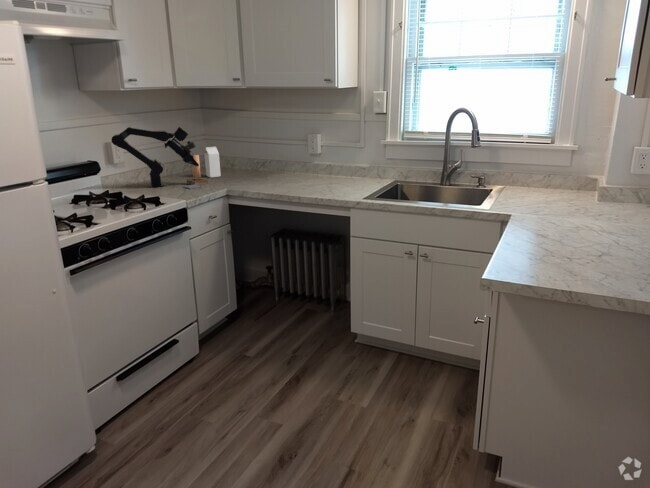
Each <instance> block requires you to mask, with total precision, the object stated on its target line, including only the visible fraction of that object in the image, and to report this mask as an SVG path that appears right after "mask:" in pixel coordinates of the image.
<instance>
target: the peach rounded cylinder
mask: <svg viewBox="0 0 650 488" xmlns="http://www.w3.org/2000/svg"><path fill="white" fill-rule="evenodd" d="M193 158H194V159H195V161H196V162H197V163H198V164H199V166H195V165H192V164H191V168H192V177H193V178H192V179H195V178H202V175H201V164H200V163H201V162H200V155H199V154H193Z"/></svg>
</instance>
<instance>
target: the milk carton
mask: <svg viewBox="0 0 650 488" xmlns="http://www.w3.org/2000/svg"><path fill="white" fill-rule="evenodd" d="M204 150H205V151H204V154H203V155H204V164H205V165H204V166H205V174H206V175H205V176H206V177H208V178H217V177H218V178H219V177H222V176H221V164H220V162H221V161H220V153H219V151H218V148H217V146H207V147H206V146H205V149H204Z"/></svg>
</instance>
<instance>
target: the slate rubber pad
mask: <svg viewBox="0 0 650 488" xmlns="http://www.w3.org/2000/svg"><path fill="white" fill-rule="evenodd" d="M201 186H202V185H190V184H187V185H184V186H183V188H184V189H187V188H188V190H192V189H193V190H194V189H200V188H201Z"/></svg>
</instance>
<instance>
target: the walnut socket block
mask: <svg viewBox="0 0 650 488" xmlns="http://www.w3.org/2000/svg"><path fill="white" fill-rule="evenodd" d="M208 179H209V178H208ZM208 179H207V178H204V177H203V178H202V177H200V178H189V179H186V185H198V186H202V185H207V184H209V180H208Z"/></svg>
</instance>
